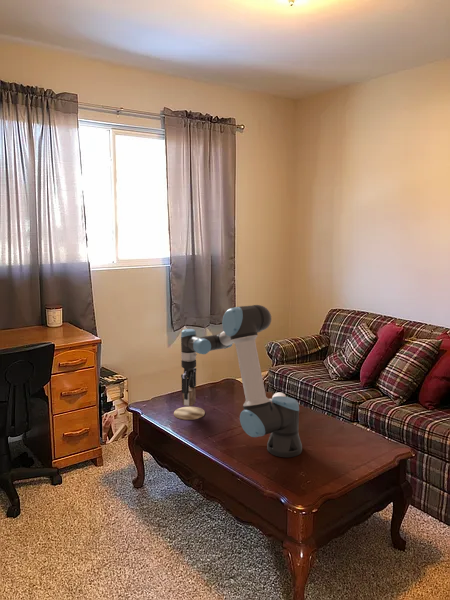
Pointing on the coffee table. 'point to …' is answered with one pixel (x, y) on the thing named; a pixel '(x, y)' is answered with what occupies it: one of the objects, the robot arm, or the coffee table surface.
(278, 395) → the mug
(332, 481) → the coffee table surface
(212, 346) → the robot arm
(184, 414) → the plate
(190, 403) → the block
